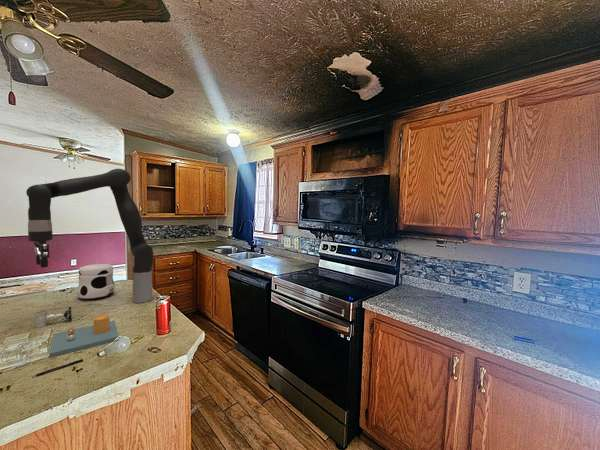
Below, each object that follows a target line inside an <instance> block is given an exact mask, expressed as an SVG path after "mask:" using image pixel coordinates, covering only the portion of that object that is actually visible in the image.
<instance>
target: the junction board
mask: <svg viewBox="0 0 600 450" xmlns="http://www.w3.org/2000/svg"><path fill="white" fill-rule="evenodd" d="M73 329H74V333H75V334H76V339H75V340H73V341H67V335H68V330H65V331H59V332H55V333H53V337H52V341H51V345H50V350H49V356H48V357H49V358H54V357H58V356H62V355H66V354H70V353H73V352H74V353H75V352H78V351H82V350H86V349H90V348H93V347H97V346H102V345H105V344H108V343H113V341H114V340H115V339H116V338H117V337H118V338H119V334H118V333H119V332H118V329H117V325H116V321H115V320H113V321H112V320H111V321H109V330H108V331H107V332H104V333H100V334H94V324H93V325H89V326H84V327H79V328H73ZM114 342H115V341H114Z"/></svg>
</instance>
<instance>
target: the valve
mask: <svg viewBox="0 0 600 450" xmlns="http://www.w3.org/2000/svg"><path fill="white" fill-rule="evenodd" d="M72 316H73V315H72V306H68V309H67V310H65V312H63V313H57V314H53V313H49V314H48V310H38V311H36V312H35V313H34V323H35V324H34V327H35V329H42V328H45V327H47V326H48V321H49V322H51V321H54V319H55V318H56V319H60V318H62V317H63V318H65V319H67V320H68V321H72ZM56 319H55V320H56Z"/></svg>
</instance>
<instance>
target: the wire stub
mask: <svg viewBox="0 0 600 450" xmlns="http://www.w3.org/2000/svg"><path fill="white" fill-rule="evenodd" d="M74 329H75V328H69V329H68V330H67V331H68V335H67V341H73V340H75V339H76V334H75V333H74Z"/></svg>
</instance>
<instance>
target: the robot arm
mask: <svg viewBox="0 0 600 450" xmlns="http://www.w3.org/2000/svg"><path fill="white" fill-rule="evenodd" d="M131 178H132V177H131V174H130V173H129V172H128V171H127V170H126V169H123V168H114V169H111V170H109V171H107V172H105V173H100V174H95V175H90V176H88V175H87V176H83V177H82V176H81V177H76V178H75V177H74V178H68V179H62V180H58V181H54V182H48V183H39V184H33V185H31V186H30V185H29V187H28V188H27V189H26V190H25V191H26V192H25V193H26V195H27V197H28V210H27V216H28V218H27V219H28V223H27V232H28V233H27V235H28V237H27V238H28V239H27V240H28V242H33V252H34V253H33V254H34V256H35V261H36V262H35V264H36V265H37V266H40V268H41V269H42V268H48V267H49V259H50V244H49V243H47V241H48V242H49V241H52V240H54V239H53V238H54V236H53V223H52V215H51V214H52V211H51V205H52V204H51V202H52V199H54V198H57V197H58V198H59V197H67V196H70V195H76V194H81V193H84V192H89V191H92V190H96V189H100V188H107V187H109V189H110V190H111V193H112V195H113V198H114V201H115V204H116V209H117V212H118V214H119V218H120V221H121V223H122V225H123V228H124V230H125V232H126V236H127V237H128V242H129V245H130V250H131V255H132V256H133V257H134V259H133V260H134V261H133V267H132V303H135V304H143V303H142V302H144V303H147V301H148V302H150V301H153V299H154V297H153V296H154V295H153V293H154V292H153V282H152V279H153V274H152V273H153V265H154V250H153V248H152V246H151V245H149V244H148V243H147V241H146V239H145V237H144V234H143V222H142V217H141V214H140V210H139V207H138V205H137V204H136V203H135V201H134V199H133V198H132V196H131V195H130V193H129V189H128V188H129V187H128V185H129V183H130V182H131V180H132V179H131ZM149 300H150V301H149Z"/></svg>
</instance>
